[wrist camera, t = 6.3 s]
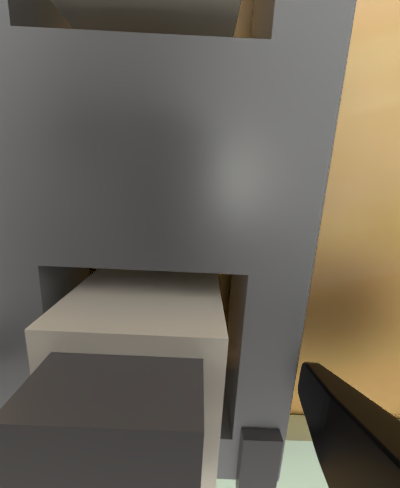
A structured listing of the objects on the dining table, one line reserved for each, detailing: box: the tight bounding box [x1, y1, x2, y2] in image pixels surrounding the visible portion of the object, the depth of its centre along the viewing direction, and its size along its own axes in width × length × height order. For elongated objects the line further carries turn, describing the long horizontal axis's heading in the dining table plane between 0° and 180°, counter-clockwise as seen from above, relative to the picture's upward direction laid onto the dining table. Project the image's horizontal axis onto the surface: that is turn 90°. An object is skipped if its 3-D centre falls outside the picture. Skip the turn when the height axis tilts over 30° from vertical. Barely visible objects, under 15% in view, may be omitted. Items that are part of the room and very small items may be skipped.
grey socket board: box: [0, 0, 357, 488], centre depth 7 cm, size 9×20×3 cm, turn 177°
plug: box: [0, 268, 229, 488], centre depth 7 cm, size 4×4×6 cm
